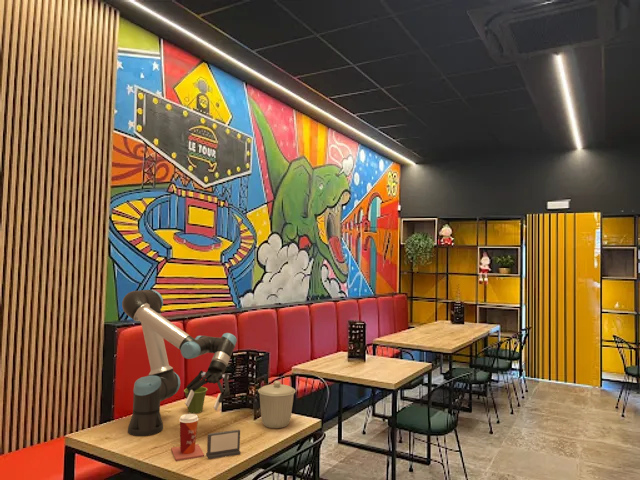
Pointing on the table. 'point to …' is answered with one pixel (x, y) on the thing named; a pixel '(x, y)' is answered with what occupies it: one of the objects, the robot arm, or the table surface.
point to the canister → (276, 404)
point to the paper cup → (188, 433)
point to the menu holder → (223, 444)
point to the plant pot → (197, 400)
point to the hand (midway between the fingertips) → (200, 407)
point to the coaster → (180, 456)
